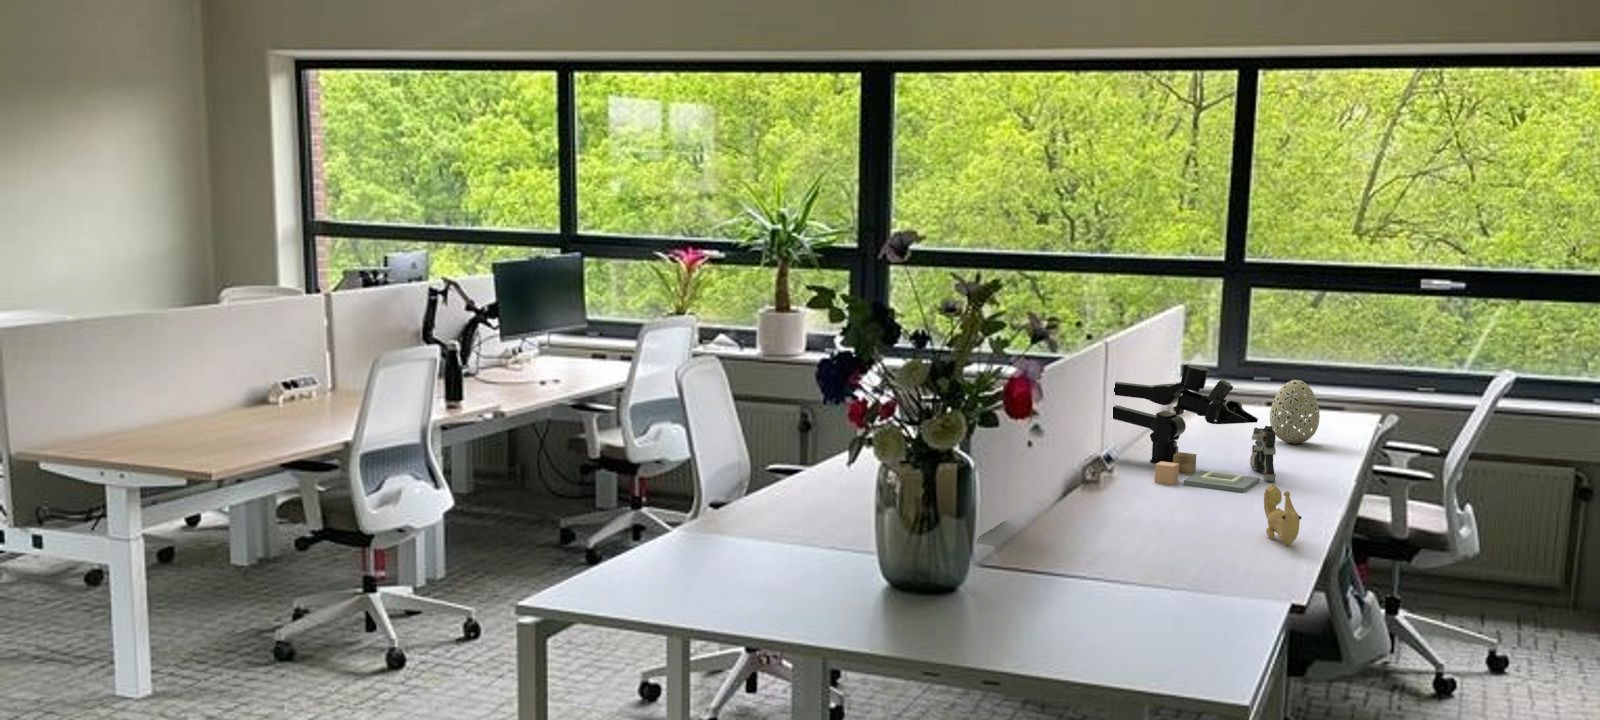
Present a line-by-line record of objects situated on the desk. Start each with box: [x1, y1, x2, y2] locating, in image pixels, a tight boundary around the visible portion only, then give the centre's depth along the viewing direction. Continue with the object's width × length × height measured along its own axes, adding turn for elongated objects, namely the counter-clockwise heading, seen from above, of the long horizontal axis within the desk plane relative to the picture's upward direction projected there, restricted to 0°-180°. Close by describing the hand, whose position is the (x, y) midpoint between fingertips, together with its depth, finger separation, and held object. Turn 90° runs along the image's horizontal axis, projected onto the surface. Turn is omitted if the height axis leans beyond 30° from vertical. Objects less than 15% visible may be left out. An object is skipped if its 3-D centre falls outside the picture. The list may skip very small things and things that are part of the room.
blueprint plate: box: [1183, 469, 1260, 493], centre depth 388 cm, size 16×16×2 cm
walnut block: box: [1173, 451, 1197, 475], centre depth 402 cm, size 5×5×5 cm
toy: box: [1263, 483, 1302, 546], centre depth 328 cm, size 5×12×20 cm
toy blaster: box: [1249, 425, 1277, 482], centre depth 400 cm, size 4×21×15 cm, turn 174°
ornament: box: [1269, 379, 1321, 445], centre depth 447 cm, size 15×15×20 cm
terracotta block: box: [1154, 461, 1180, 486], centre depth 389 cm, size 5×5×5 cm
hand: (1252, 420), depth 398 cm, fingers open, 9 cm apart
